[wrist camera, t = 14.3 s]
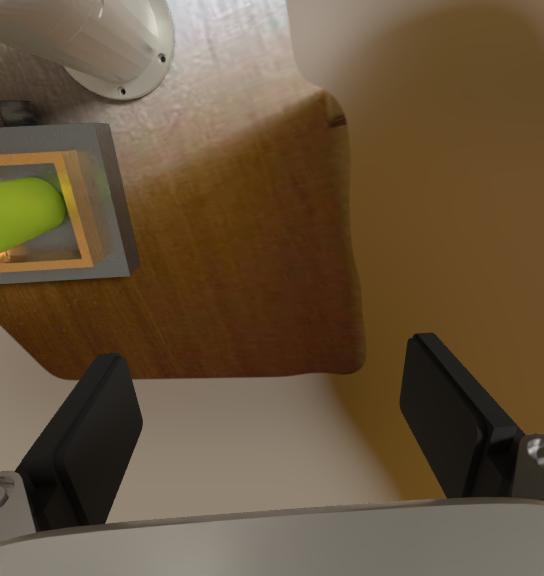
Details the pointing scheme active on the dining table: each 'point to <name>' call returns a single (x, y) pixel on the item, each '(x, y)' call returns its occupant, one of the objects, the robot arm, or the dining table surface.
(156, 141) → the dining table surface
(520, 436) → the robot arm
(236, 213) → the dining table surface
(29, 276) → the bottle holder tray
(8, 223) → the green pump bottle
